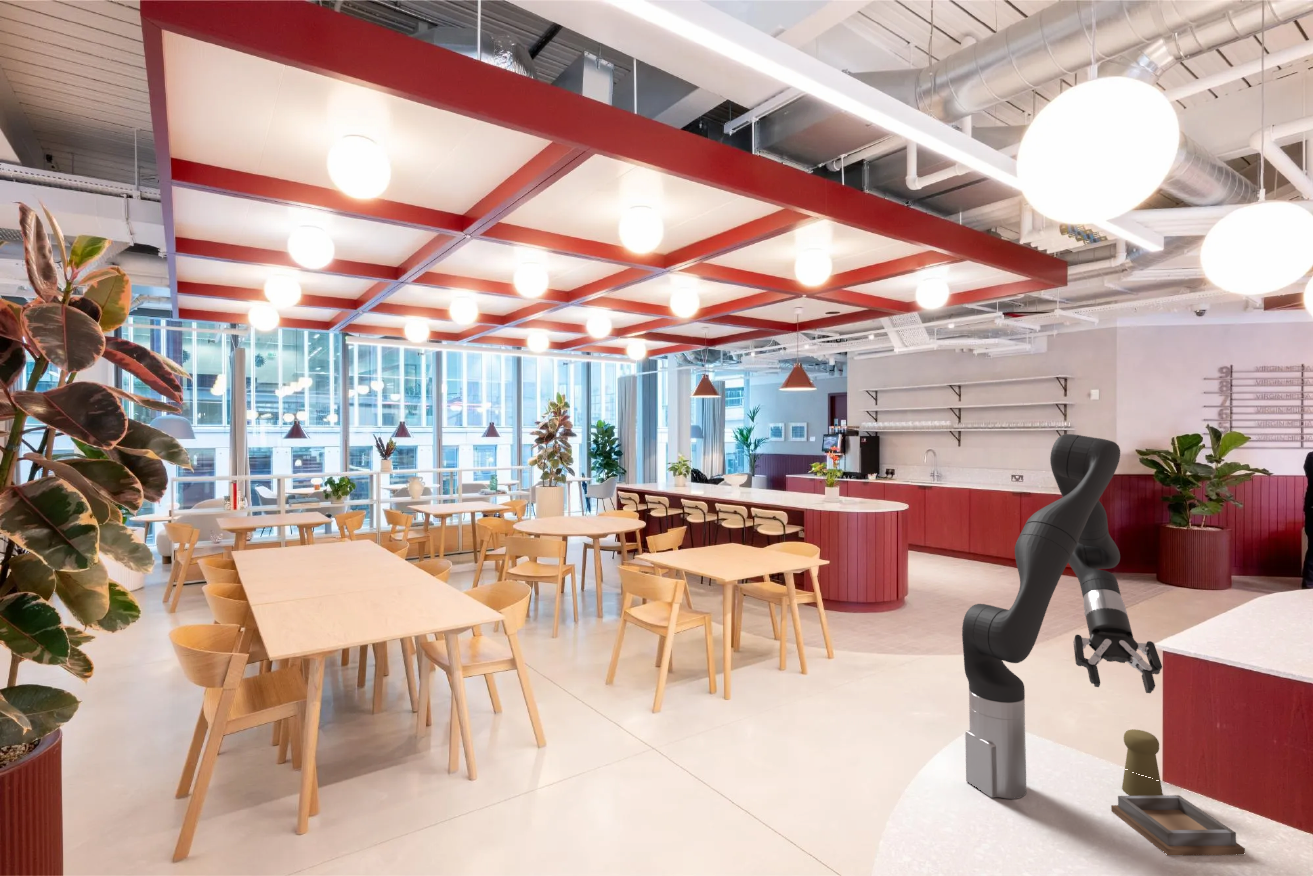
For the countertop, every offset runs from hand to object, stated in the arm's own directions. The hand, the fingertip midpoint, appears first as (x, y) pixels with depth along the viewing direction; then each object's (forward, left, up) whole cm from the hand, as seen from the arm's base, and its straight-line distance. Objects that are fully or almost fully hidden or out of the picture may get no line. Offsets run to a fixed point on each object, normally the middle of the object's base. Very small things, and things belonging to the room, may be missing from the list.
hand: (1123, 688), depth 125 cm
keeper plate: (-14, -18, -15) cm, 27 cm away
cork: (-7, -8, -16) cm, 19 cm away
